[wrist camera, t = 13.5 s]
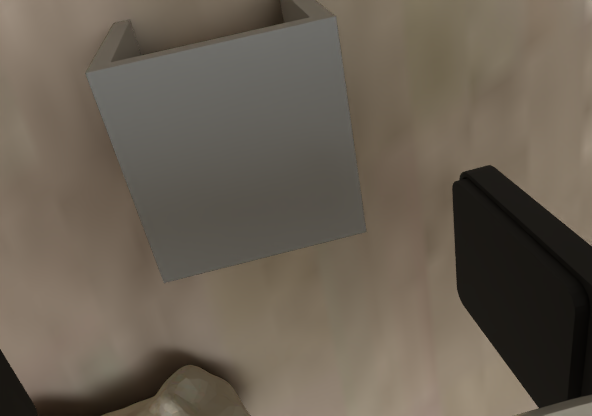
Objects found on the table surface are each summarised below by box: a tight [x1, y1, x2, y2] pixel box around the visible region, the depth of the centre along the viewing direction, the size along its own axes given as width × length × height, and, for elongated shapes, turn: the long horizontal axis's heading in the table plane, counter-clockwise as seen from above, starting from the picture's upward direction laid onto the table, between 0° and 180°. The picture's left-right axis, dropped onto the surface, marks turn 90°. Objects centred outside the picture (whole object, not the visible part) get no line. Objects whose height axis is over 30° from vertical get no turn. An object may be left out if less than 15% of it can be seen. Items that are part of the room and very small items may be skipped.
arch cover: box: [85, 0, 366, 283], centre depth 20 cm, size 7×7×7 cm
